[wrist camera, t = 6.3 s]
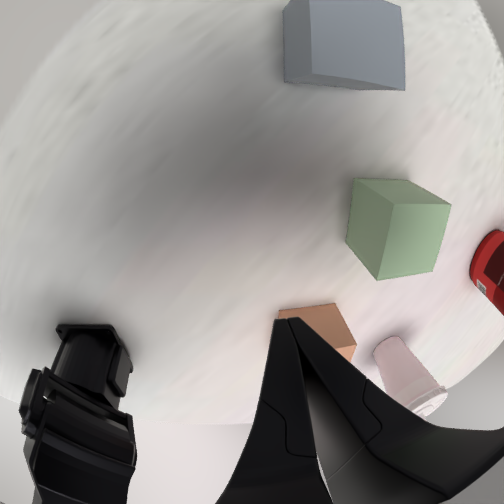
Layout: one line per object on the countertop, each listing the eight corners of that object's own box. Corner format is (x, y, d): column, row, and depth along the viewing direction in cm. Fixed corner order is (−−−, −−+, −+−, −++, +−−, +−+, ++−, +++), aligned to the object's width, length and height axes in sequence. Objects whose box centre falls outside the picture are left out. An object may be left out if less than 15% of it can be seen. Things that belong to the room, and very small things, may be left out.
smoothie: (383, 326, 26) (446, 435, 14) (418, 328, 27) (476, 418, 15) (353, 365, 28) (397, 467, 16) (389, 364, 30) (433, 451, 18)
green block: (345, 242, 20) (376, 280, 16) (353, 177, 17) (393, 203, 13) (397, 238, 20) (432, 271, 16) (408, 180, 18) (451, 204, 14)
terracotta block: (275, 348, 25) (286, 391, 21) (278, 309, 22) (292, 356, 18) (325, 341, 25) (342, 381, 21) (334, 302, 23) (357, 344, 19)
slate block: (284, 82, 14) (312, 73, 10) (282, 11, 11) (307, -19, 7) (358, 90, 14) (405, 90, 10) (357, 23, 12) (400, 6, 8)
